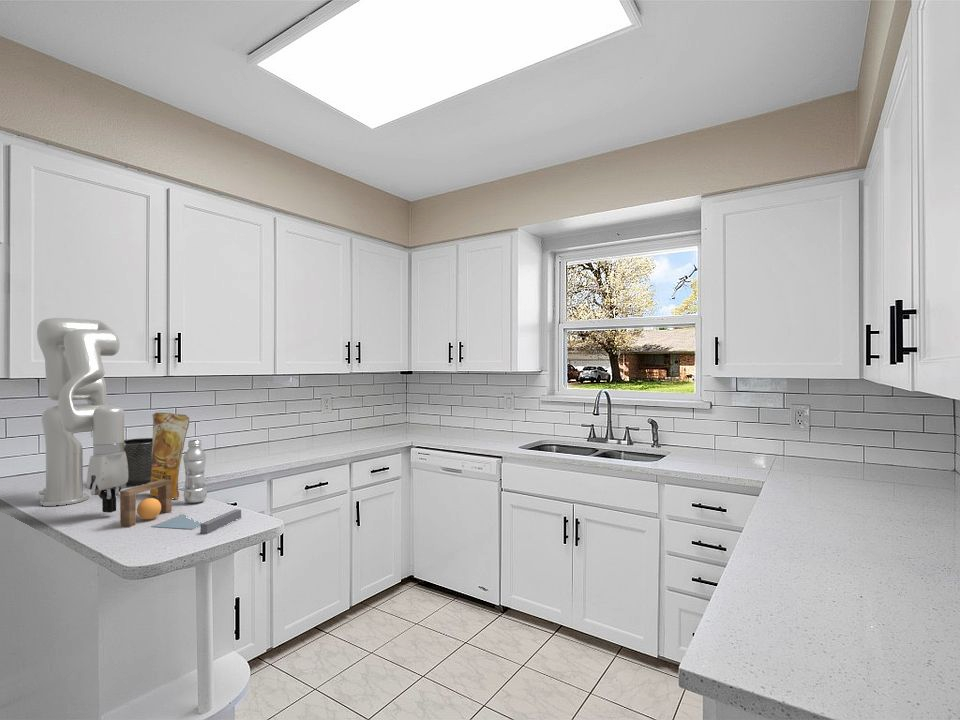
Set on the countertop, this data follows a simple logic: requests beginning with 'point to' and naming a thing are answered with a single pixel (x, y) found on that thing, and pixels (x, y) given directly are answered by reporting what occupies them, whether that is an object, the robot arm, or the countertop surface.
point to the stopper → (219, 521)
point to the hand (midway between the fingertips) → (109, 511)
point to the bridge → (130, 500)
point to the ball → (148, 508)
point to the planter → (139, 460)
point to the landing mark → (178, 523)
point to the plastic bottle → (194, 473)
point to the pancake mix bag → (168, 448)
